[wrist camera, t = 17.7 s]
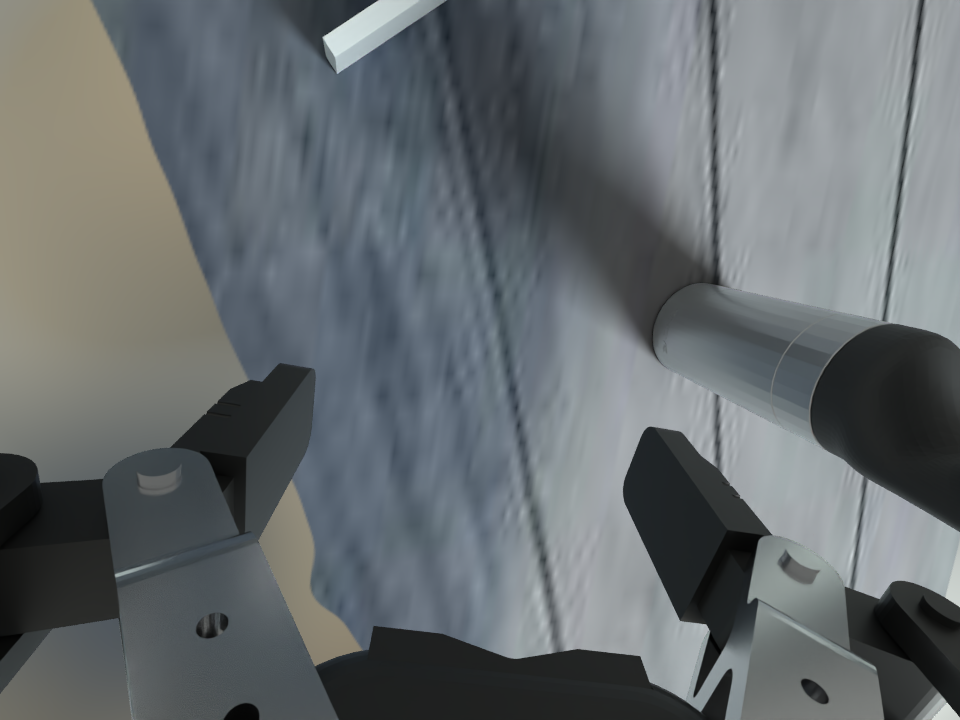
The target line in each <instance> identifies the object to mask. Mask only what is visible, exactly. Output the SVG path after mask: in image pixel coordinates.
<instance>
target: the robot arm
mask: <svg viewBox="0 0 960 720" xmlns="http://www.w3.org/2000/svg"><path fill="white" fill-rule="evenodd" d="M653 346H654V350H655V354H656V355H657V357H658V359H659V361H660V362H661V363H662V364H663V365H664V366H665V367H666V368H668V369H670V370H671V371H673V372H675V373H677V374H679V375H681V376H683V377H685V378H687V379H689V380H691V381H693V382H694V383H696V384H698V385H700V386H702V387H704V388H706V389H708V390H710V391H712V392H713V393H715V394H717V395H719V396H721V397H723V398H725V399H727V400H729V401H731V402H733V403H735V404H737V405H739V406H741V407H743V408H745V409H747V410H748V411H750V412H752V413H754V414H756V415H758V416H760V417H762V418H764V419H766V420H768V421H770V422H772V423H774V424H776V425H778V426H780V427H782V428H783V429H785V430H788V431H790V432H792V433H794V434H796V435H798V436H799V437H801V438H803V439H805V440H807V441H809V442H811V443H813V444H815V445H817V446H819V447H821V448H823V449H825V450H827V451H828V452H830V453H832V454H834V455H836V456H838V457H840V458H842V459H844V460H845V461H846V462H847V463H848V464H849V465H850V466H851V467H852V468H853V469H855V470H856V471H857V472H859V473H860V474H861V475H863V476H864V477H866V478H868V479H869V480H871V481H873V482H875V483H876V484H878V485H880V486H882V487H884V488H885V489H887V490H889V491H891V492H893V493H894V494H896V495H898V496H900V497H901V498H903V499H905V500H907V501H908V502H910V503H912V504H914V505H915V506H917V507H919V508H920V509H922V510H924V511H926V512H927V513H929V514H931V515H932V516H934V517H936V518H937V519H939V520H941V521H942V522H944V523H946V524H947V525H949V526H951V527H952V528H954V529H956V530H957V531H959V532H960V349H959V348H958V347H957V346H956V345H955V344H954V343H953V342H952V341H950V340H949V339H947V338H945V337H943V336H941V335H939V334H936V333H933V332H930V331H926V330H922V329H917V328H913V327H908V326H904V325H899V324H893V323H889V322H884V321H879V320H875V319H870V318H865V317H861V316H856V315H852V314H846V313H841V312H837V311H832V310H828V309H823V308H818V307H814V306H809V305H805V304H800V303H795V302H791V301H786V300H782V299H777V298H773V297H768V296H763V295H759V294H754V293H750V292H745V291H741V290H737V289H732V288H727V287H723V286H718V285H714V284H708V283H696V284H692V285H689V286H686V287H684V288H682V289H681V290H679V291H677V292H676V293H675V294H674V295H673V296H671V297H670V298H669V299H668V300H667V302H666V303H665V304H664V306H663V307H662V309H661V310H660V312H659V314H658V316H657V319H656V322H655V325H654V330H653ZM315 379H316V375H315V370H314V369H312V368H306V367H300V366H294V365H288V364H282V363H280V364H278V365H277V366H276V367H275V369H274V370H273V371H272V372H271V373H270V374H269V375H268V376H267V377H266V378H265V380H264V381H263V382H260V381H254V380H250V381H247V382H245V383H243V384H241V385H238V386H236V387H234V388H232V389H230V390H229V391H228V392H227V393H226V394H225V395H224V396H223V397H222V398H221V399H220V400H219V401H218V403H217V404H214V405H213V406H212V407H211V408H210V409H209V410H208V411H207V414H206V415H205V414H204V415H203V416H202V417H201V418H200V419H199V420H198V421H197V422H196V423H195V424H194V425H193V426H192V427H191V428H190V429H189V430H188V431H187V432H186V433H185V434H184V435H183V436H182V437H181V438H180V439H179V440H178V441H176V442H175V444H173V445H172V446H171V447H170V448H160V449H153V450H149V451H144V452H141V453H137V454H135V455H132V456H130V457H127V458H125V459H124V460H122V461H120V462H118V463H117V464H115V465H114V466H113V467H112V468H111V469H109V470H108V472H107V473H106V474H105V476H104V478H103V479H97V480H84V481H83V480H82V481H65V482H50V483H40V480H39V474H38V469H37V466H36V465H35V463H34V462H33V461H32V460H30V459H28V458H26V457H23V456H20V455H14V454H4V453H0V693H1V692H2V691H3V689H4V688H5V687H6V686H7V685H8V683H9V682H10V681H11V680H12V678H13V677H14V676H15V674H16V673H17V672H18V671H19V670H20V668H21V667H22V666H23V665H24V663H25V662H26V661H27V660H28V658H29V657H30V656H31V655H32V653H33V652H34V651H35V650H36V648H37V647H38V646H39V645H40V643H41V642H42V641H43V640H44V638H45V637H46V636H47V635H48V633H49V632H50V631H51V630H52V629H53V628H59V627H65V626H71V625H78V624H84V623H90V622H97V621H103V620H109V619H115V618H119V626H120V632H121V640H122V648H123V655H124V662H125V670H126V677H127V685H128V692H129V700H130V708H131V715H132V720H931V719H932V718H933V717H934V716H935V715H936V714H937V713H938V712H939V711H940V710H941V708H942V707H943V706H944V705H945V704H946V703H948V704H949V705H950V706H951V707H952V709H953V710H954V711H955V712H956V713H957V714H958V716H959V717H960V607H958V606H957V605H955V604H954V603H952V602H951V601H949V600H948V599H946V598H945V597H943V596H941V595H939V594H937V593H935V592H933V591H931V590H929V589H927V588H925V587H922V586H920V585H917V584H914V583H910V582H906V581H895V582H892V583H891V584H890V586H889V587H888V589H887V590H886V591H885V593H884V594H883V595H882V597H881V598H880V599H877V598H875V597H872V596H869V595H866V594H864V593H861V592H858V591H855V590H853V589H850V588H847V587H844V583H843V581H842V579H841V577H840V576H839V574H838V573H837V572H836V570H835V569H834V568H833V567H832V566H831V565H830V564H829V563H828V562H827V561H825V560H824V559H823V558H822V557H820V556H819V555H818V554H816V553H815V552H813V551H812V550H810V549H808V548H807V547H805V546H803V545H801V544H799V543H797V542H795V541H792V540H790V539H787V538H783V537H779V536H773V535H772V534H771V533H770V532H769V530H768V529H767V528H766V527H765V526H764V524H763V523H762V522H761V521H760V520H759V518H758V517H757V516H756V515H755V513H754V512H753V511H752V510H751V509H750V507H749V506H748V505H747V504H746V503H745V501H744V500H743V499H740V495H739V494H738V493H737V492H736V490H735V489H734V488H733V487H732V486H730V483H729V482H728V481H727V480H726V478H725V477H724V476H723V475H722V473H721V472H720V471H719V470H718V469H717V468H716V467H715V466H713V465H712V464H711V463H710V462H708V461H707V460H706V459H704V458H703V457H702V456H700V454H699V453H698V452H697V451H696V449H695V448H694V447H693V446H692V444H691V443H690V442H689V441H688V439H687V438H686V437H685V436H684V434H683V433H681V432H679V431H674V430H668V429H662V428H656V427H648V428H647V429H646V430H645V431H644V432H643V434H642V436H641V439H640V441H639V444H638V446H637V449H636V451H635V454H634V457H633V459H632V462H631V464H630V467H629V469H628V472H627V474H626V477H625V480H624V486H623V497H624V502H625V505H626V507H627V509H628V511H629V513H630V515H631V517H632V520H633V522H634V524H635V526H636V528H637V530H638V532H639V534H640V537H641V539H642V541H643V543H644V545H645V547H646V549H647V551H648V554H649V556H650V558H651V560H652V562H653V564H654V566H655V568H656V571H657V573H658V575H659V577H660V579H661V581H662V583H663V585H664V588H665V590H666V592H667V594H668V596H669V598H670V600H671V602H672V605H673V607H674V609H675V611H676V613H677V615H678V617H679V619H680V621H684V622H692V623H700V624H707V626H708V628H709V631H708V633H707V634H706V636H705V638H704V640H703V642H702V645H701V648H700V652H699V655H698V659H697V663H696V666H695V670H694V673H693V677H692V680H691V684H690V688H689V691H688V695H687V698H686V701H684V700H683V699H681V698H679V697H678V696H676V695H675V694H673V693H671V692H669V691H667V690H665V689H663V688H661V687H659V686H657V685H655V684H652V683H650V682H649V680H648V677H647V674H646V671H645V668H644V666H643V663H642V660H641V657H640V656H633V655H625V654H616V653H607V652H598V651H589V650H581V649H576V650H570V651H564V652H557V653H551V654H545V655H539V656H533V657H527V658H521V659H511V658H507V657H504V656H501V655H498V654H496V653H493V652H490V651H488V650H485V649H482V648H479V647H477V646H474V645H471V644H469V643H466V642H463V641H460V640H458V639H455V638H452V637H450V636H447V635H444V634H439V633H431V632H422V631H413V630H404V629H395V628H387V627H378V626H374V627H373V632H372V637H371V642H370V647H369V650H365V651H359V652H353V653H350V654H346V655H342V656H339V657H336V658H333V659H331V660H328V661H326V662H324V663H321V664H319V665H317V666H314V664H313V662H312V659H311V657H310V655H309V653H308V651H307V648H306V646H305V644H304V642H303V639H302V637H301V635H300V633H299V631H298V628H297V626H296V624H295V622H294V620H293V617H292V615H291V613H290V611H289V609H288V606H287V604H286V602H285V600H284V597H283V595H282V593H281V591H280V588H279V586H278V584H277V582H276V580H275V577H274V575H273V573H272V571H271V569H270V566H269V564H268V562H267V560H266V557H265V555H264V553H263V551H262V549H261V546H260V544H259V542H258V540H259V538H260V536H261V534H262V532H263V530H264V528H265V527H266V525H267V523H268V521H269V519H270V517H271V516H272V514H273V512H274V510H275V508H276V506H277V505H278V503H279V501H280V499H281V497H282V495H283V493H284V492H285V490H286V488H287V486H288V484H289V483H290V481H291V479H292V477H293V475H294V473H295V471H296V470H297V468H298V466H299V464H300V462H301V460H302V459H303V457H304V455H305V453H306V450H307V447H308V444H309V440H310V435H311V429H312V417H313V405H314V392H315Z"/></svg>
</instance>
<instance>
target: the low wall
mask: <svg viewBox="0 0 960 720" xmlns="http://www.w3.org/2000/svg"><path fill="white" fill-rule="evenodd" d="M445 1H447V0H378V1H377V2H375V3H374V4H372V5H371V6H369V7H368V8H366V9H365V10H363V11H362V12H360V13H359V14H357V15H356V16H354V17H353V18H351V19H350V20H348V21H347V22H345V23H344V24H342V25H341V26H339V27H338V28H336V29H335V30H333V31H332V32H330V33H329V34H327V35H326V36H324V37H323V42H324V48H325V54H326V57H327V59H328V61H329V62H330V64H331V65H332V67H333V68H334V70H335V71H336V73H337V74H338V73H339V72H341V71H342V70H344V69H345V68H347V67H348V66H350V65H351V64H353V63H354V62H356V61H357V60H359V59H360V58H362V57H363V56H365V55H366V54H368V53H369V52H371V51H372V50H374V49H375V48H377V47H378V46H380V45H381V44H383V43H384V42H386V41H387V40H389V39H390V38H392V37H393V36H395V35H396V34H398V33H399V32H401V31H402V30H404V29H405V28H406V27H408V26H409V25H411V24H412V23H414V22H415V21H417V20H418V19H420V18H421V17H423V16H424V15H426V14H427V13H429V12H430V11H432V10H433V9H435V8H436V7H438V6H439V5H441V4H442V3H444V2H445Z"/></svg>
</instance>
